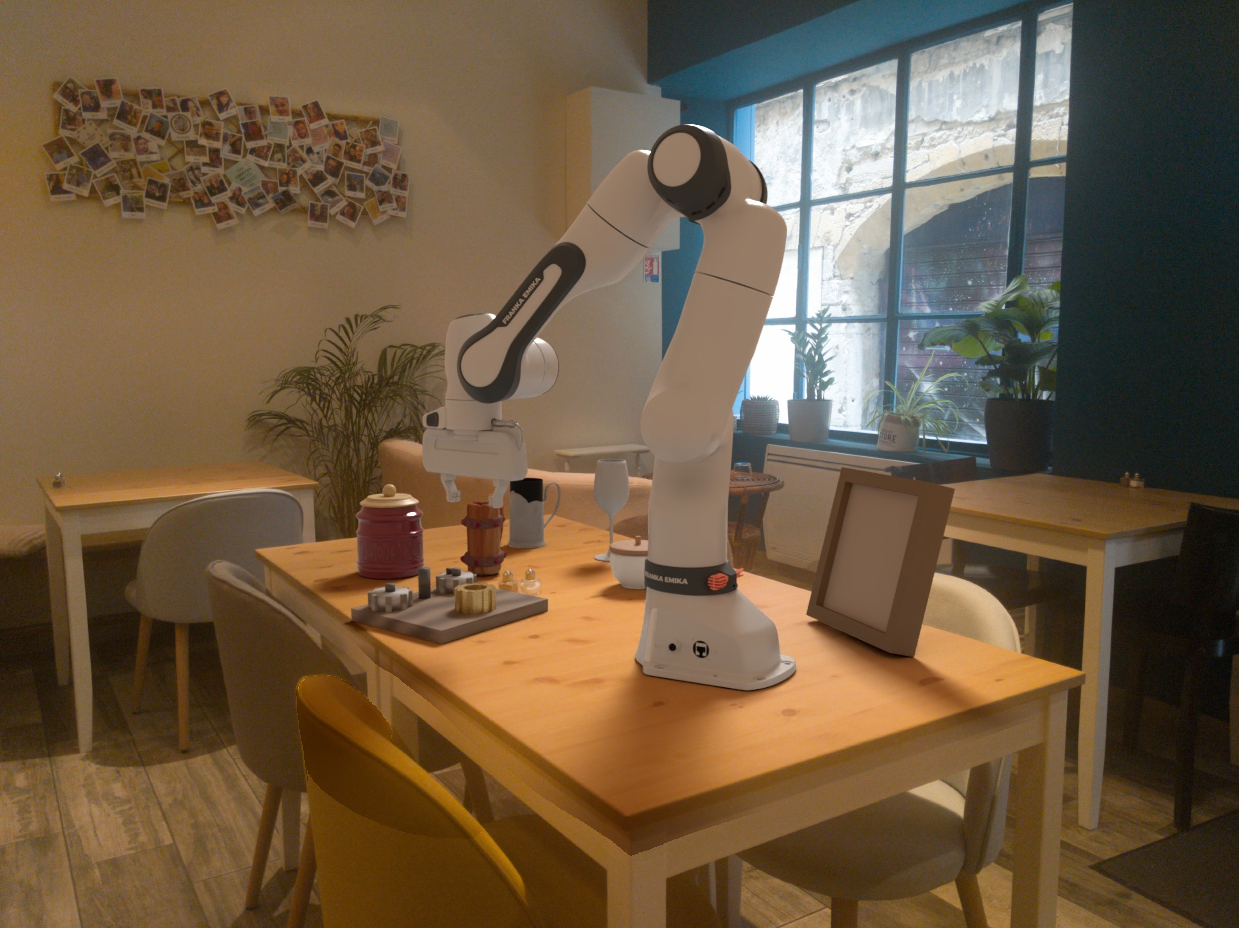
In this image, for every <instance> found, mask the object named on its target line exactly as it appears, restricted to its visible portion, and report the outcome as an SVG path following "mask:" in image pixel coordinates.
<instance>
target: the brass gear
mask: <svg viewBox="0 0 1239 928" xmlns="http://www.w3.org/2000/svg"><path fill="white" fill-rule="evenodd" d="M496 589H497V587H496V586H495V585H494V584H492V583H490V584H488V583H487V582H481V583H480V582H477V583H473V584H468V583H467V584H463V585H458V586H457V587H455V610H456V611H457V612H463V613H464V614H468V613H473V614H478V613H488V611H494V610H495V609H496Z"/></svg>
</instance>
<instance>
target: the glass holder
mask: <svg viewBox="0 0 1239 928" xmlns="http://www.w3.org/2000/svg"><path fill="white" fill-rule="evenodd" d="M551 485H555V486H556V487H557V501H556V505H555V508H554V510H553V511H552V513H551V515H550V516H549V517H548V519H547V520H546V521H545V513H544V511H545V507H544V506H545V504H544V503H545V502H546V501H547V498H548V491H549V488H550V486H551ZM561 493H562V492H561V487H560V485H559V484H558V483H557V482H555V481H554V482H553V481H552V482H549V483H547V485H546V486H545V489H544V479H543V478H537V477H525V478H524V479H523V480H517V481H509V495H508V496H509V497H508V499H509V500H508V501H509V502H508V503H509V511H508V512H509V515H508V516H509V519H508V520H509V523H508V524H509V540H508V543H507V546H508V547H510V548H516V549H535V548H542V547H545V546H546V545H547V544H546V543H547V542H546V541H545V537H544V536H545V528H546V527H547V526H548V524H549V523H550V521H552V519H553V518H554V516H555V515H556V513H557V512H558V509H559V506H560V502H561V495H562V494H561Z"/></svg>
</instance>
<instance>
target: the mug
mask: <svg viewBox="0 0 1239 928" xmlns="http://www.w3.org/2000/svg"><path fill="white" fill-rule="evenodd" d="M492 495H493V493H489V494H488V495H487V498H486V500H483V501H481V500H475V501H471V502H468V503H467V504H466V505H467V506H466V515H465V516H464V518H463V519H461V521H460V524H461V525H462V526H464V527H466V540H467V542H466V544H467V546H466V547H467V548H466V549H467V551H466V552H465V553H464V554H463V555H462V556H460V557H459V558H460V559H459V560H460V561H461V562H462V563H463V564H464V565H466V566H467V572H473V574H477V576H485V577H487V576H493V575H496V574H498V573H499V572H500V571H501V568H502V564H503V562H504V561H505V558H506V557H507V556H508V553H507V552H506V551H504V550H503V549H501V543H502V542H501V541H502V538H503V533H504V532H503V531H504V524H505V521H506V518H505V511H504V505H503V506H502V507H501V508H491V507H489V505H488V503H489V501H488V497H489V496H492Z"/></svg>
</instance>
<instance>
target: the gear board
mask: <svg viewBox="0 0 1239 928" xmlns="http://www.w3.org/2000/svg"><path fill="white" fill-rule="evenodd" d="M417 576H418V577H417V581H418V584H417V585H418V591H416V592H413V589H410V587H407V586H403V587H402V586H396V583H395V582H387V583H385V584H384V587H375V588H373V590H369V591H367V604H364V605H360V606H355V607H352V608H350V613H351V614H350V619H351V621H353V622H356V623H360V624H364V625H367V626H371V627H375V628H379V629H382V630H386V631H387V630H388V631H391V632H394V633H399V634H402V635H406V636H409V637H414V638H417V639H421V640H425V641H428V642H429V641H430V642H433V643H436V644H437V643H438V644H446V643H450V642H453V641H455V640H459V639H463V638H465V637H468V636H471V635H474V634H475V635H476V634H477V633H481V632H483V631H487V630H491V629H493V628H497V627H500V626H503V625H506V624H509V623H512V622H515V621H519V620H522V619H525V618H529V617H532V616H535V615H538V614H541V613H544V612H547V611H549V598H545V597H540V596H535V595H530V594H526V593H520V592H515V591H510V590H505V589H501V588H496V609H495V610H494V611H488V613H478V614H473V613H468V614H464V613H463V612H457V611H456V610H455V587H457V586H458V585H463V584H467V583H468V584H473V583H478V581H477V580H478V579H477V576H478V575H477V574H473V572H468V571H462V568H461V567H446V568H445V571H443V572H440V574H437V575H435V587H431V585H432V583H431V567H428V566H423V567H421V568H418V574H417Z"/></svg>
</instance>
